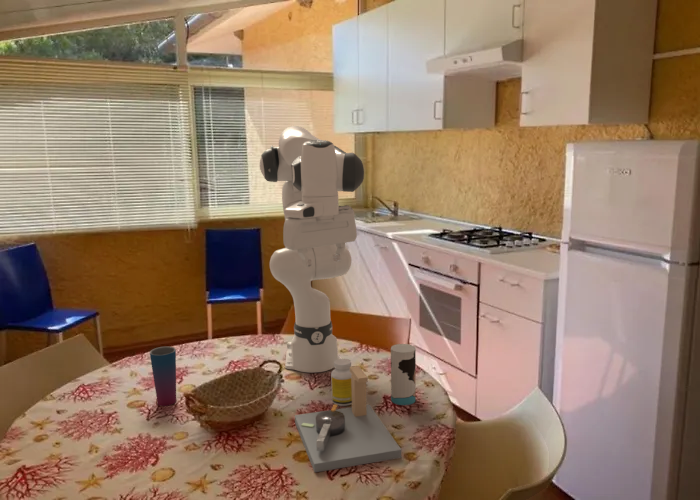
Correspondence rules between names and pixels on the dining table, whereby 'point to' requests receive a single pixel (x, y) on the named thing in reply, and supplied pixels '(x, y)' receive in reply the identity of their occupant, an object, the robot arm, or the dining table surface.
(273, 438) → the dining table surface
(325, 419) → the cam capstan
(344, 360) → the pill bottle
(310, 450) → the stand base
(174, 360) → the cup
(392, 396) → the cup
